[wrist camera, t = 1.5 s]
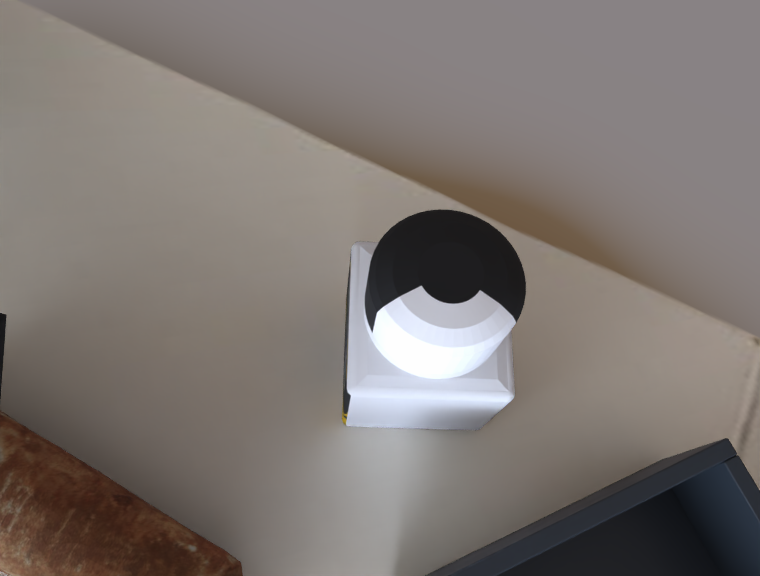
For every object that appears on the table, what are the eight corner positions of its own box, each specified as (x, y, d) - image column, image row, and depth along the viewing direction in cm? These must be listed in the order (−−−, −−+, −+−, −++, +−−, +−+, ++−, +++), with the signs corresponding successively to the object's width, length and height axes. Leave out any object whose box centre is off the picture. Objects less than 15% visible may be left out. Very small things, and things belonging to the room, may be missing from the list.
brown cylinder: (-65, 368, 35) (-130, 333, 30) (268, 560, 33) (259, 557, 28) (-159, 484, 33) (-247, 467, 28) (192, 697, 31) (167, 722, 26)
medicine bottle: (346, 295, 38) (357, 182, 27) (476, 301, 39) (539, 192, 28) (341, 427, 36) (351, 361, 25) (481, 431, 36) (553, 369, 25)
